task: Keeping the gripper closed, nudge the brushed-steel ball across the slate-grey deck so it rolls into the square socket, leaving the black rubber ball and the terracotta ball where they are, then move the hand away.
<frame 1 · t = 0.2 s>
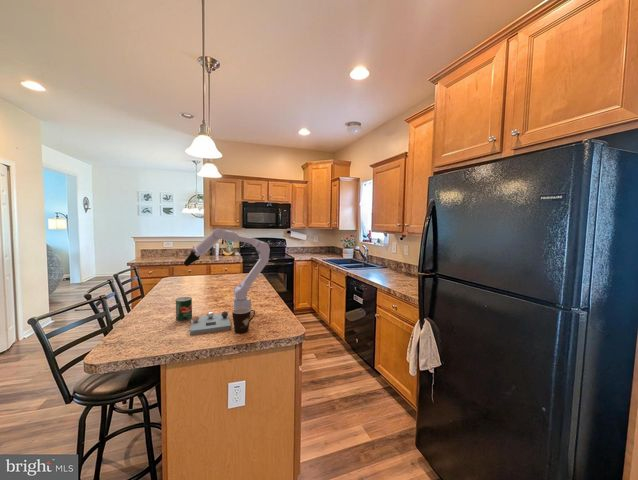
hand: (185, 263, 140), 30 cm above the countertop, tool tilted 45°, fingers open, 7 cm apart
coffee mug: (244, 331, 129), on the countertop
deck: (210, 324, 136), on the countertop
terracotta ball: (195, 318, 135), point 4 cm above the countertop, touching deck
canned tomato: (184, 319, 145), on the countertop
black rubber ball: (224, 314, 142), point 4 cm above the countertop, touching deck
steel ball: (210, 315, 141), point 4 cm above the countertop, touching deck
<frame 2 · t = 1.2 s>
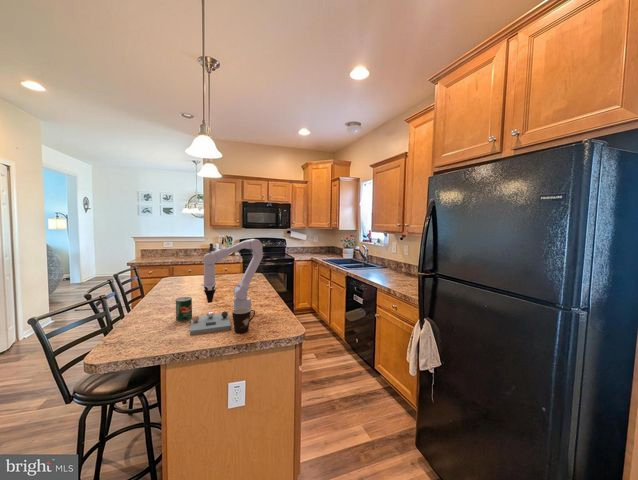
hand: (209, 300, 145), 10 cm above the countertop, tool pointing down, fingers open, 7 cm apart
nothing on the countertop moved.
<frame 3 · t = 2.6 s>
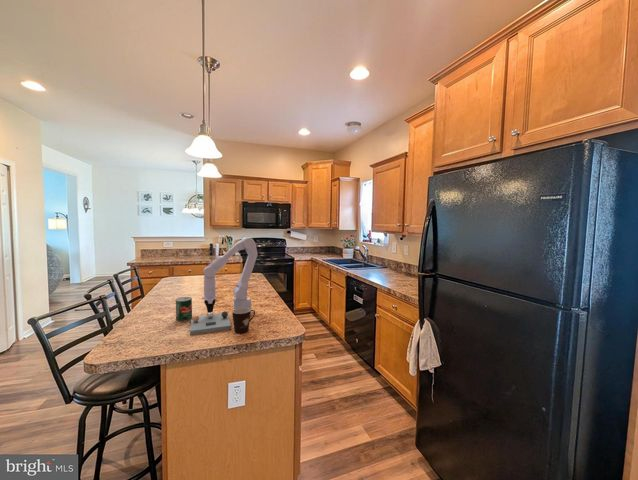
hand: (210, 313, 145), 3 cm above the countertop, tool pointing down, fingers closed
nothing on the countertop moved.
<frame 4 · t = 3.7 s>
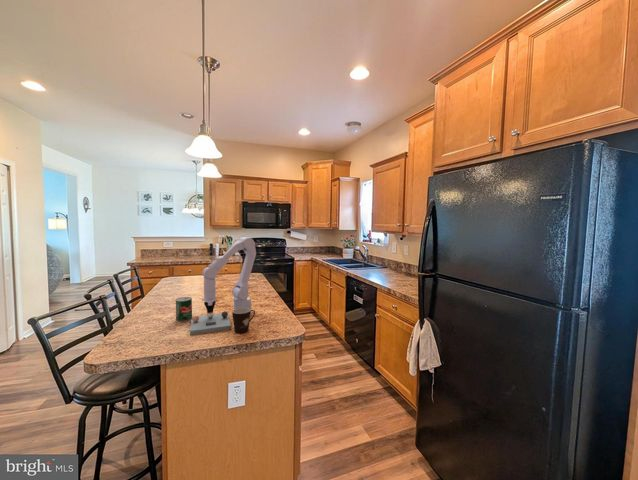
hand: (210, 315, 142), 3 cm above the countertop, tool pointing down, fingers closed, pressing on steel ball
steel ball: (210, 315, 140), point 4 cm above the countertop, tilted 8°, touching deck, gripper
everything else where it was.
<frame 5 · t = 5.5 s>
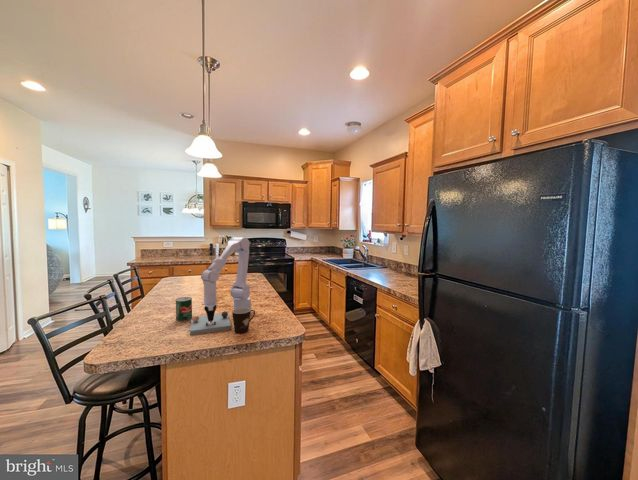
hand: (210, 320, 135), 3 cm above the countertop, tool pointing down, fingers closed
steel ball: (210, 324, 133), point 2 cm above the countertop, tilted 13°
everything else where it was.
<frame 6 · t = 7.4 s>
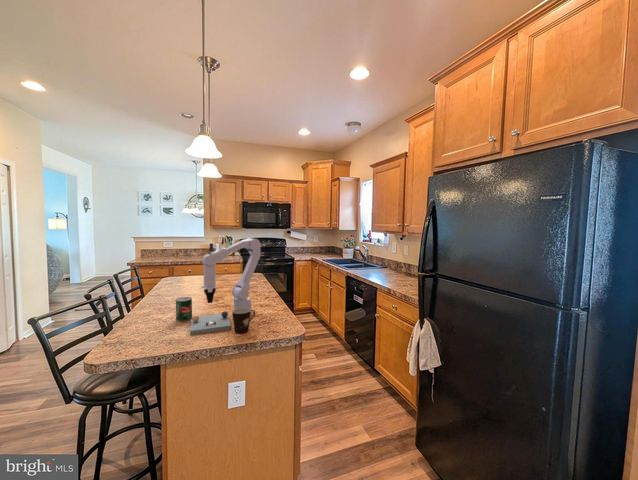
hand: (210, 302, 141), 10 cm above the countertop, tool pointing down, fingers closed
steel ball: (210, 325, 132), point 2 cm above the countertop, tilted 29°
everything else where it was.
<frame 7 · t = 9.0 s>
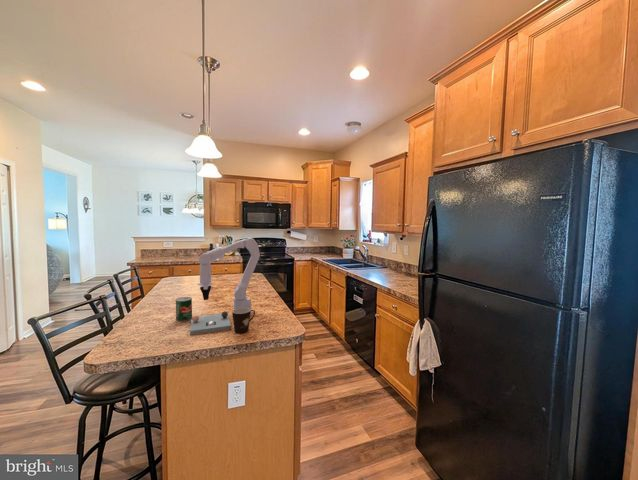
hand: (205, 299, 147), 10 cm above the countertop, tool pointing down, fingers closed
steel ball: (210, 324, 132), point 2 cm above the countertop, tilted 20°
everything else where it was.
at the end: steel ball 0.4 cm from the target spot in the deck, point 1.6 cm above the deck's base; black rubber ball moved 0.1 cm from its start; terracotta ball moved 0.1 cm from its start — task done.
